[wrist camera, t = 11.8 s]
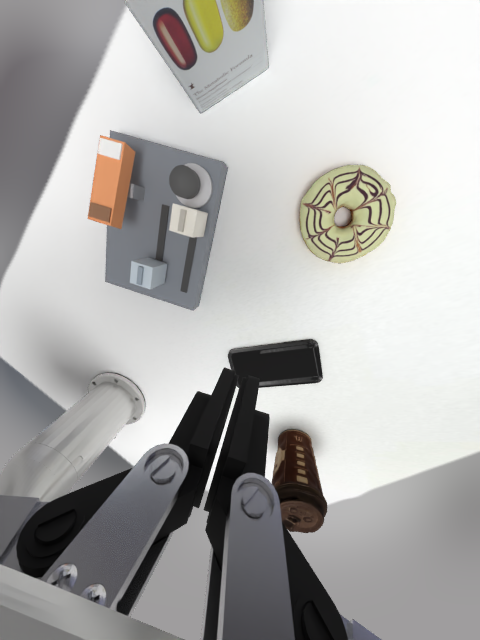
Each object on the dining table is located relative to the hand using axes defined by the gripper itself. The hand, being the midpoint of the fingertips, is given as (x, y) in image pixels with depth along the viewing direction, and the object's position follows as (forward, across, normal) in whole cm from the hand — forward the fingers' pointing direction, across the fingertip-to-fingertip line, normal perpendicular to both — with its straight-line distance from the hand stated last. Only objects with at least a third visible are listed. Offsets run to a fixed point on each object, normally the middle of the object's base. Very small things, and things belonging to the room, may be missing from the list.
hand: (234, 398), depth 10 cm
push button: (+21, +13, -10) cm, 27 cm away
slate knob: (+23, +16, +2) cm, 29 cm away
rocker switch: (+20, +21, -7) cm, 30 cm away
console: (+26, +17, -3) cm, 32 cm away
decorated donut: (+27, -6, -10) cm, 29 cm away
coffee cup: (+26, -13, +29) cm, 41 cm away
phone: (+27, -5, +13) cm, 30 cm away
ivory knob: (+23, +12, -6) cm, 27 cm away
